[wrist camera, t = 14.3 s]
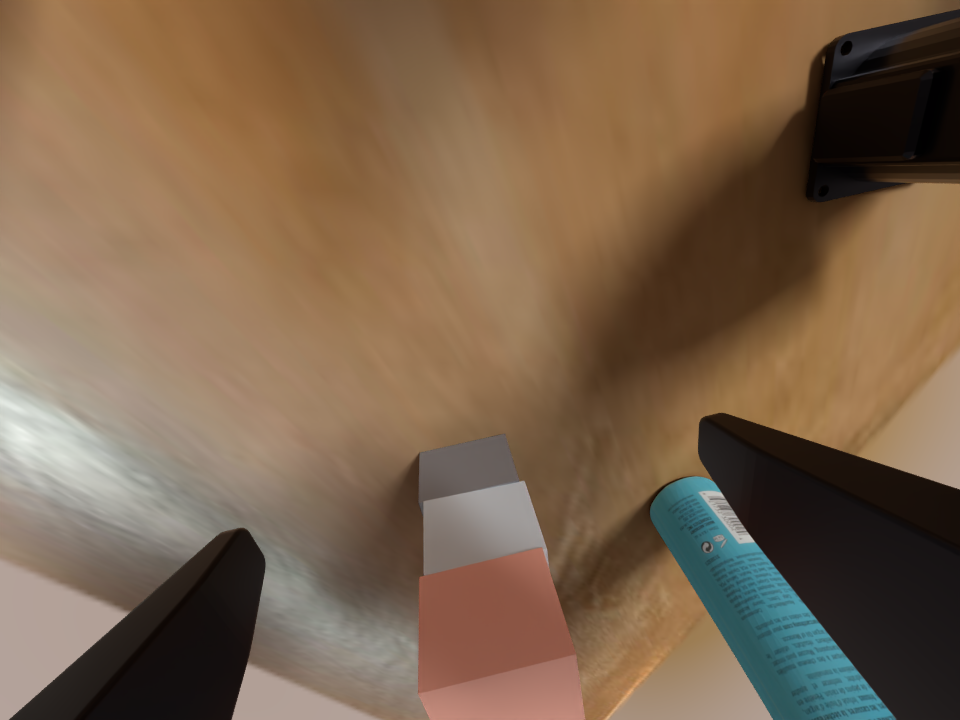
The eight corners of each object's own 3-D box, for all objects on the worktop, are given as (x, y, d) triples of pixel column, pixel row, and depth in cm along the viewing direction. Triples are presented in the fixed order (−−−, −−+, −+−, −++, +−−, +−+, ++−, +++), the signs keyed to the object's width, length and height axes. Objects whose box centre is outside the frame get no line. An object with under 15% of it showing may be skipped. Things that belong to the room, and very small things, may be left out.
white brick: (524, 480, 20) (546, 549, 16) (533, 551, 22) (554, 624, 18) (423, 501, 20) (423, 575, 16) (442, 570, 22) (446, 649, 18)
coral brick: (542, 547, 16) (575, 654, 13) (554, 622, 18) (586, 732, 15) (419, 576, 16) (417, 693, 12) (446, 649, 18) (452, 767, 15)
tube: (630, 538, 28) (952, 1114, 11) (632, 485, 26) (1032, 1093, 9) (732, 517, 29) (1199, 1043, 11) (741, 463, 27) (1330, 1007, 9)
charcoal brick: (504, 432, 23) (519, 480, 20) (516, 496, 26) (531, 550, 22) (419, 451, 23) (418, 503, 20) (438, 514, 25) (441, 571, 22)
